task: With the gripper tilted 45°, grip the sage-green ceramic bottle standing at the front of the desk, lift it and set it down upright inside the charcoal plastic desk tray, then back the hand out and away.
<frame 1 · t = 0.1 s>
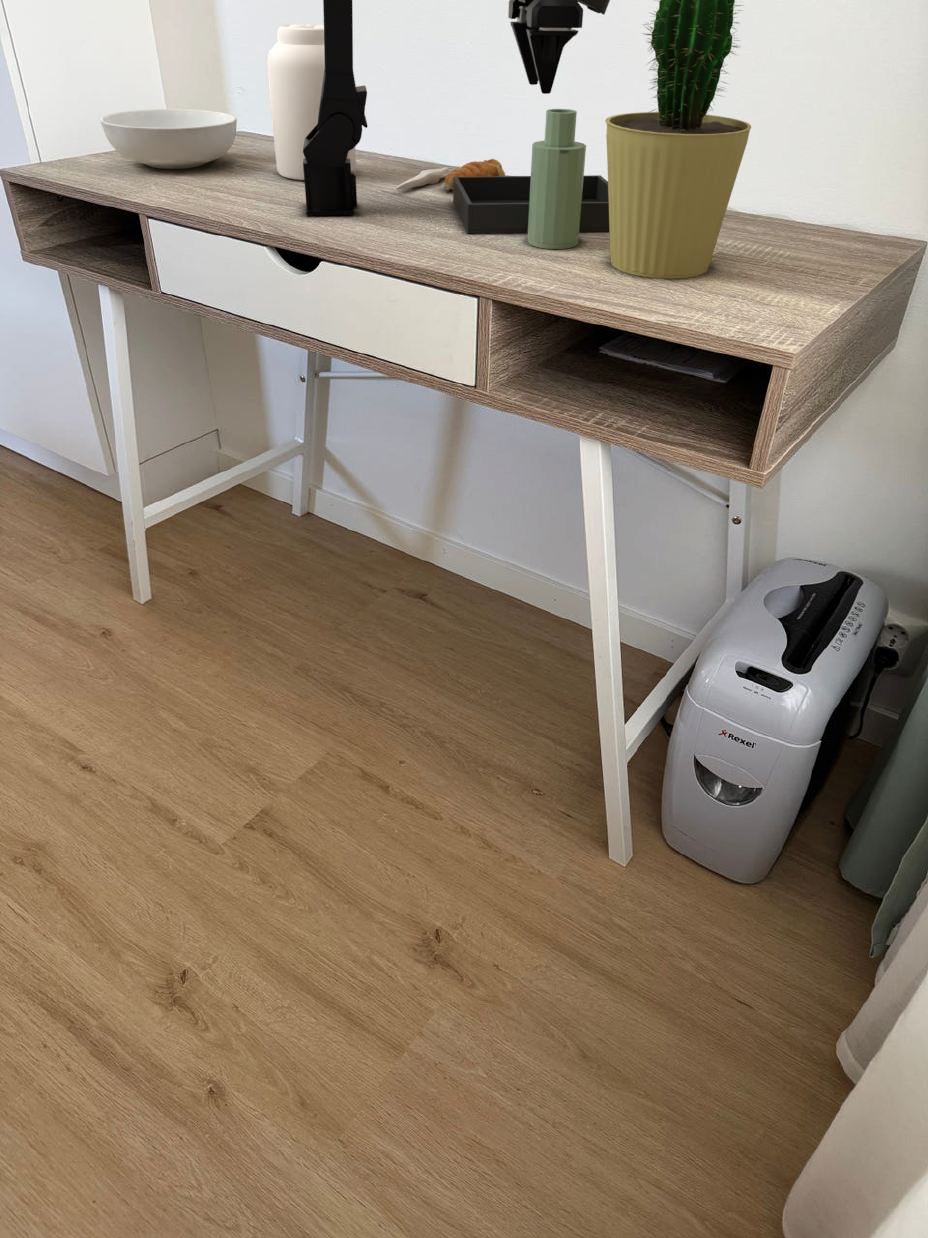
hand: (539, 88, 121), 15 cm above the table, tool pointing down, fingers open, 9 cm apart
cream vase: (317, 175, 147), on the table
parsnip: (422, 187, 142), on the table
bottle: (552, 242, 115), on the table
potted cactus: (658, 266, 108), on the table
tray: (537, 216, 126), on the table
serving bowl: (176, 165, 152), on the table
pastry: (476, 190, 140), on the table
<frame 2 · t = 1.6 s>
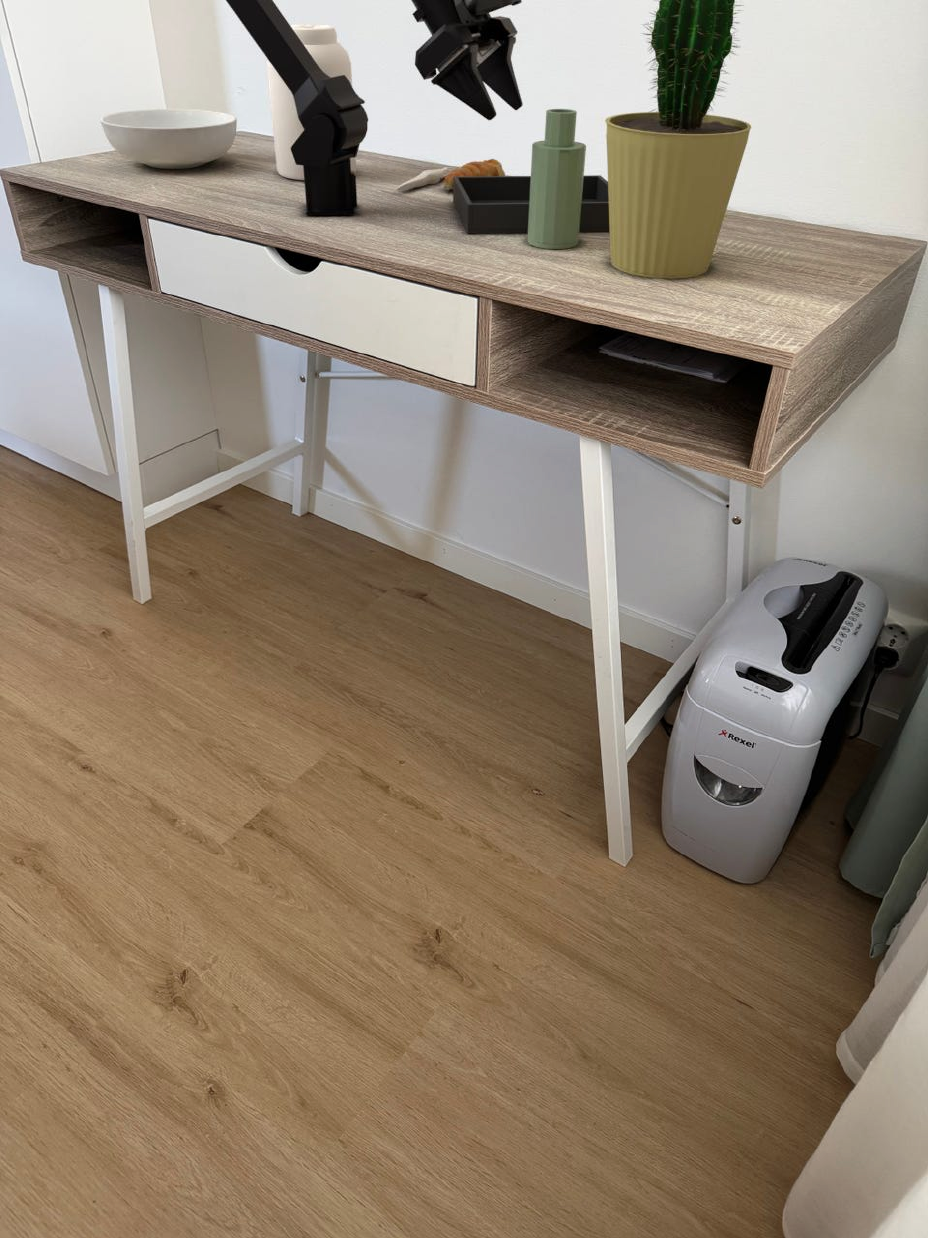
hand: (506, 112, 112), 13 cm above the table, tool tilted 40°, fingers open, 9 cm apart
nothing on the table moved.
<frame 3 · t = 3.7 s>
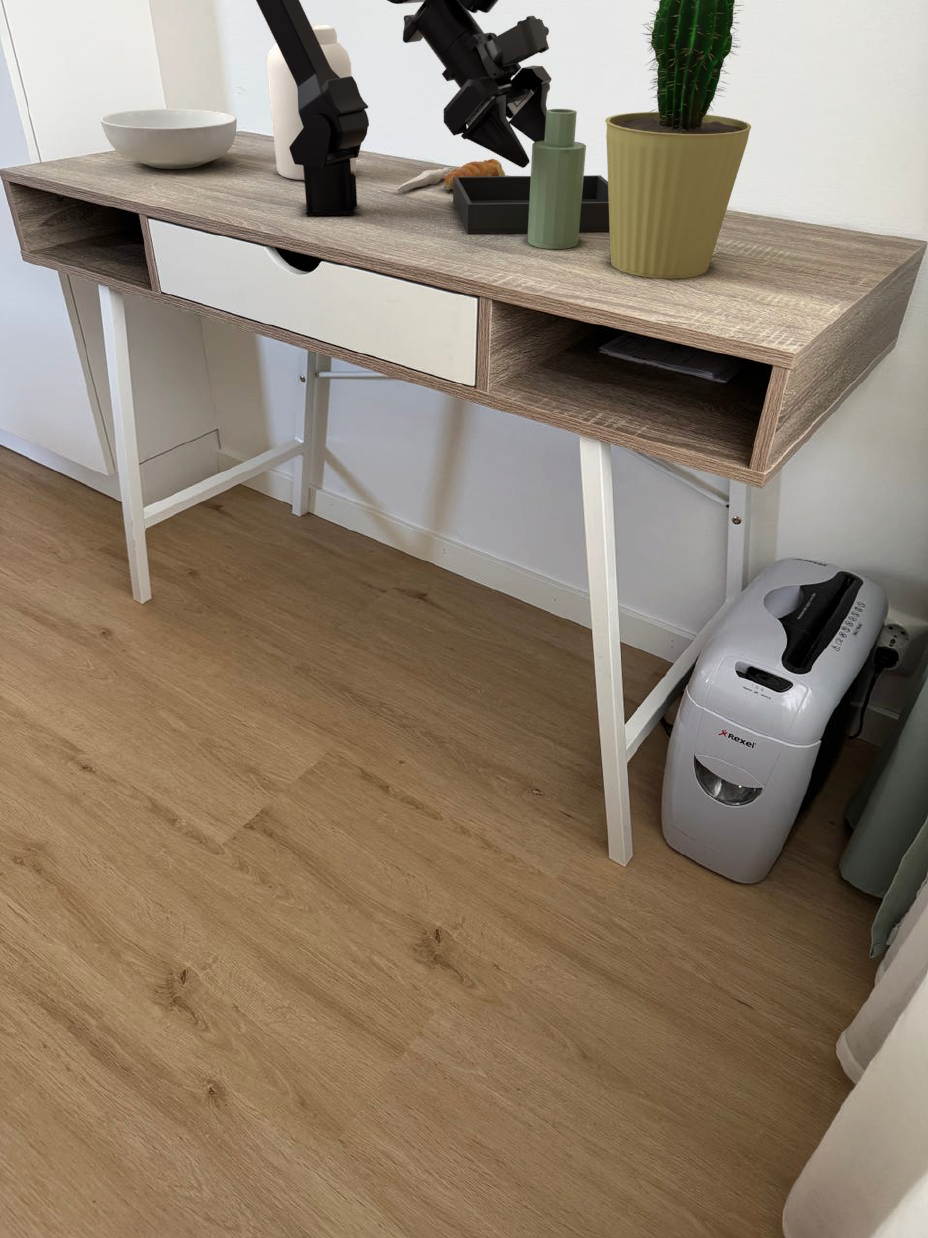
hand: (542, 158, 110), 9 cm above the table, tool tilted 45°, fingers open, 9 cm apart
nothing on the table moved.
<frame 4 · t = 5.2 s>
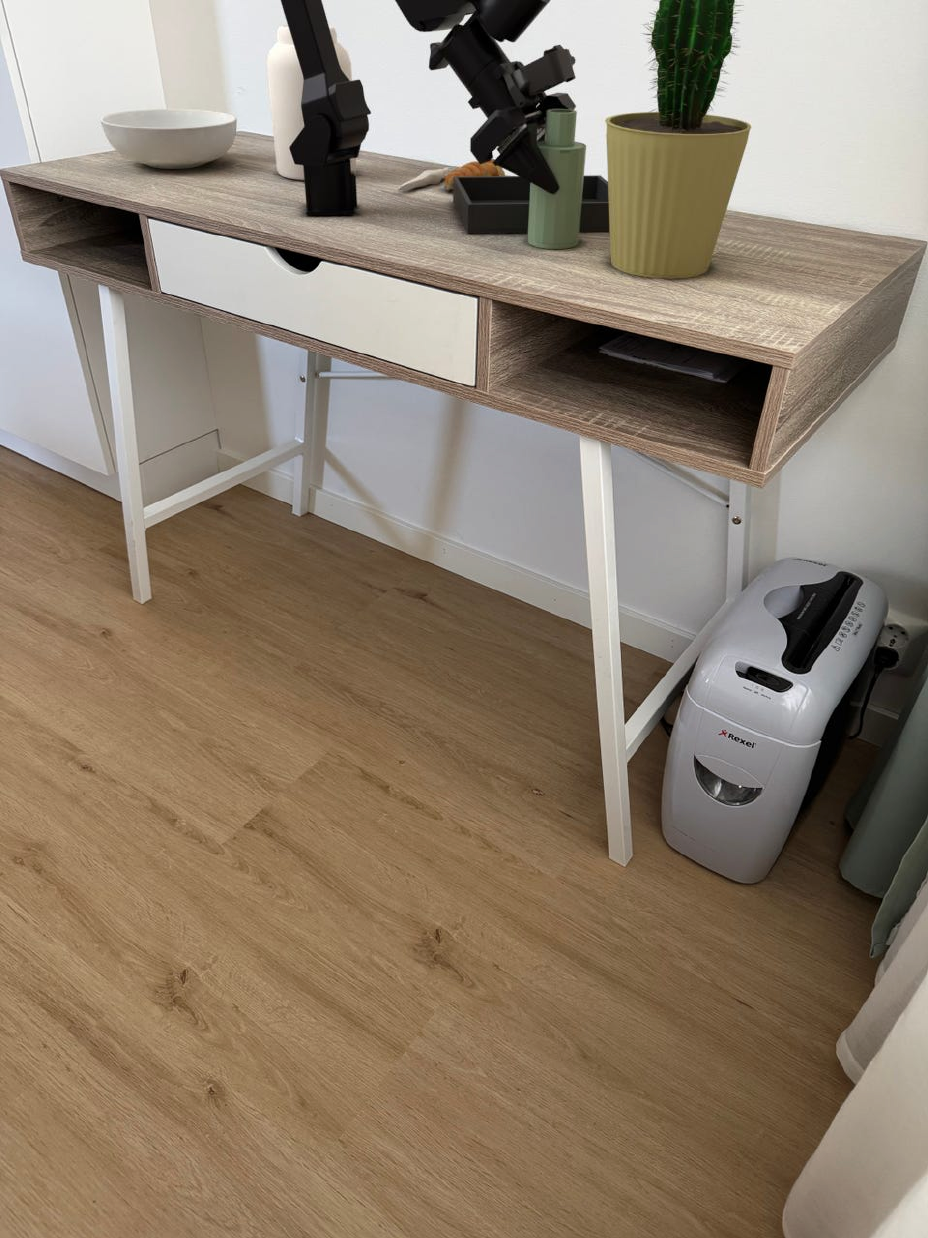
hand: (567, 186, 111), 7 cm above the table, tool tilted 45°, fingers closed on bottle, 6 cm apart
bottle: (552, 242, 115), on the table, touching gripper
everything else where it was.
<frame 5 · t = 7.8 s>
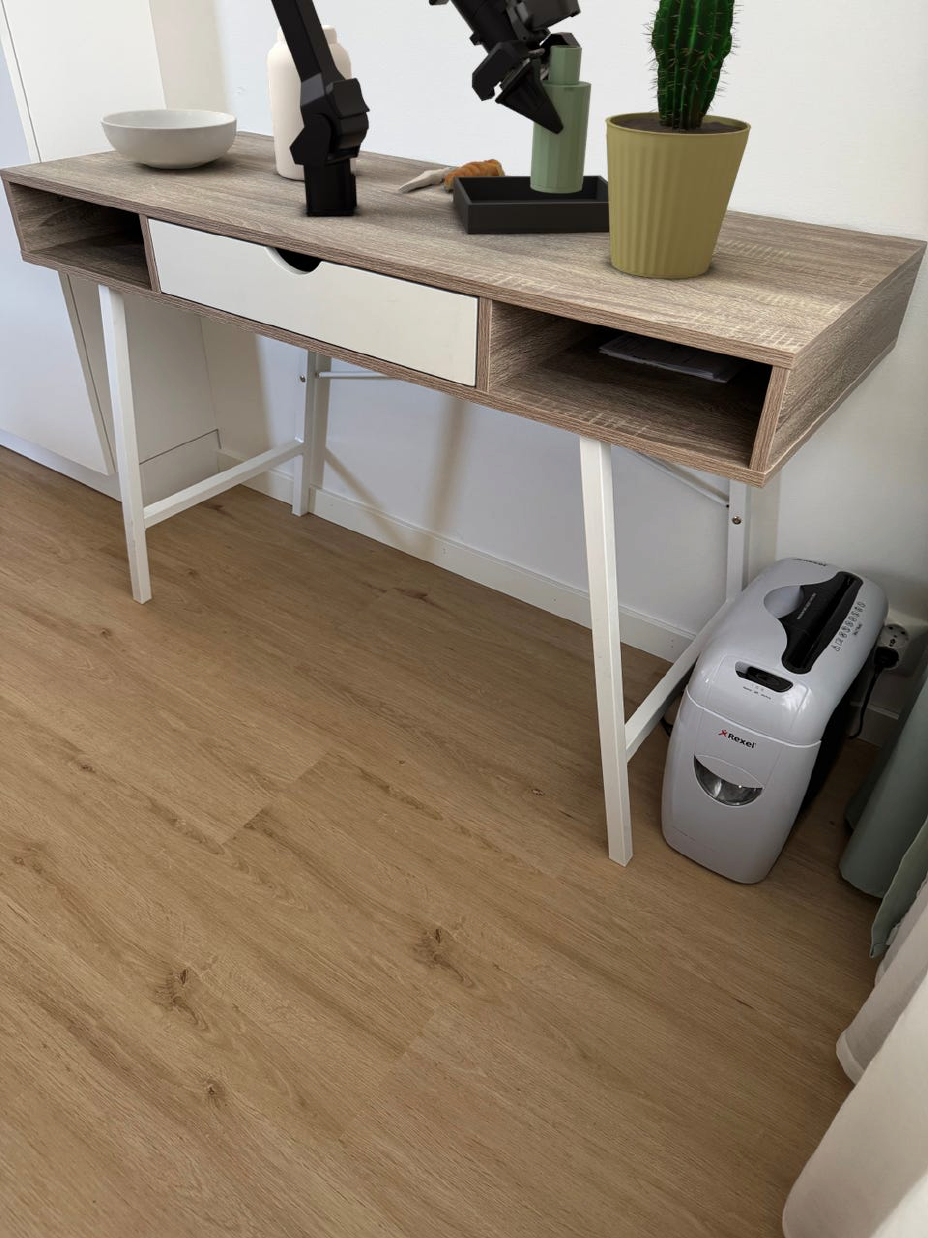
hand: (571, 127, 107), 13 cm above the table, tool tilted 45°, fingers closed on bottle, 6 cm apart
bottle: (555, 187, 112), point 6 cm above the table, touching gripper
everything else where it was.
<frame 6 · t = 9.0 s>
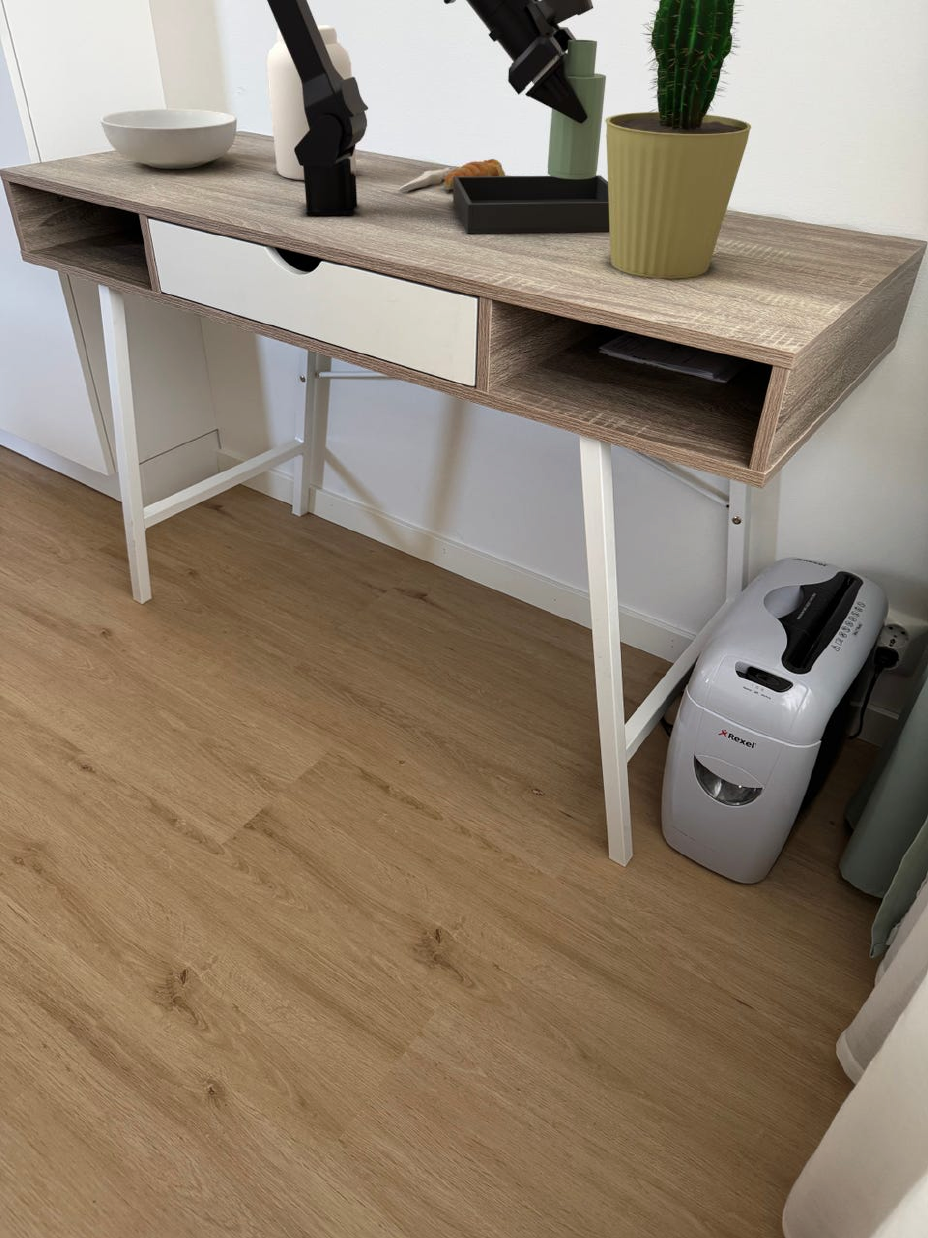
hand: (587, 116, 114), 13 cm above the table, tool tilted 45°, fingers closed on bottle, 6 cm apart
bottle: (571, 174, 118), point 6 cm above the table, touching gripper
everything else where it was.
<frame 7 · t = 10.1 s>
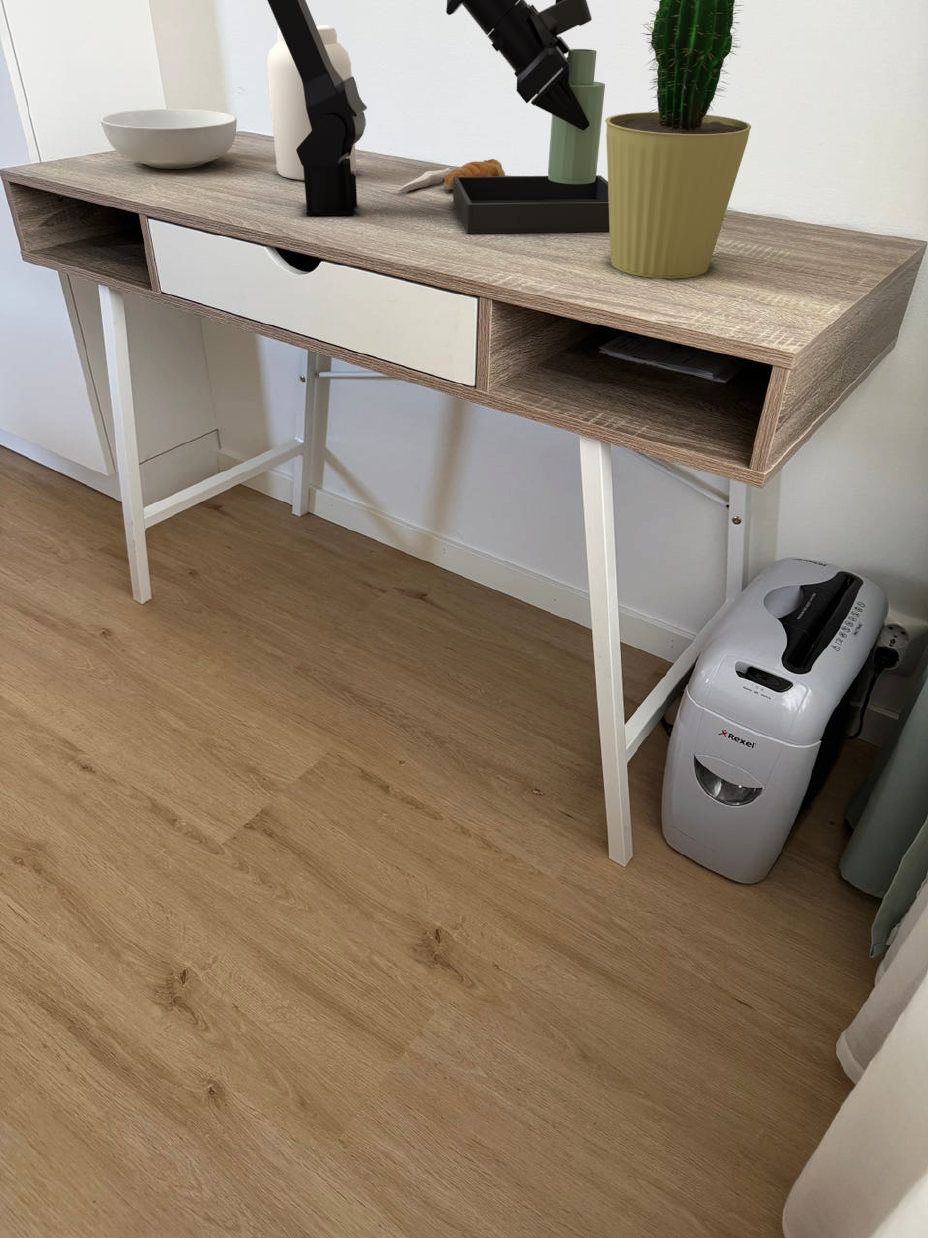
hand: (587, 123, 117), 12 cm above the table, tool tilted 45°, fingers closed on bottle, 6 cm apart
bottle: (571, 179, 121), point 5 cm above the table, touching gripper
everything else where it was.
when the fingers open (7 cm above the table, at t = 12.0 s): bottle stays where it is, resting on tray.
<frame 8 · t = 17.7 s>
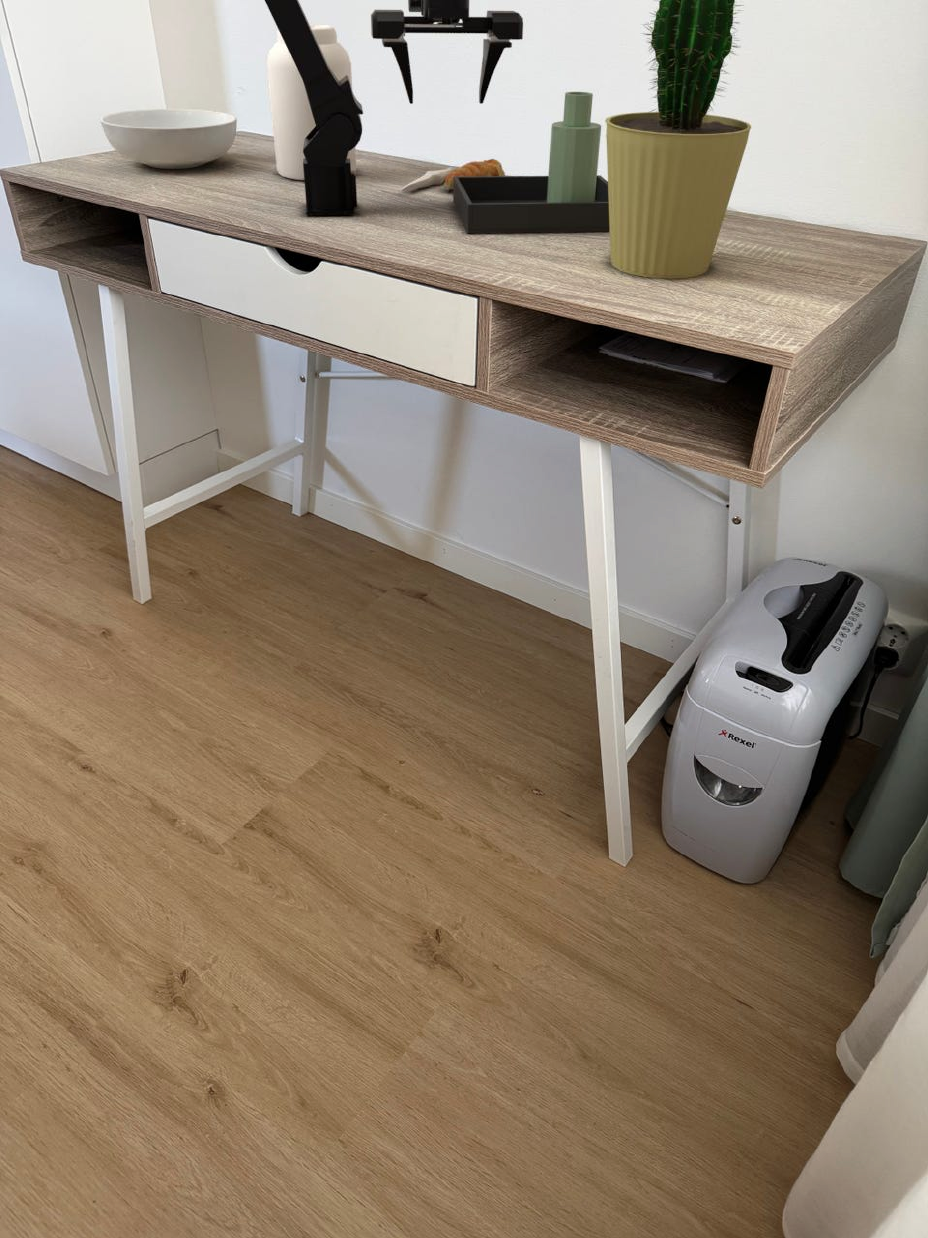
hand: (446, 102, 121), 13 cm above the table, tool pointing down, fingers open, 9 cm apart
bottle: (569, 216, 124), resting on tray
everything else where it was.
at the end: bottle inside the target area in the tray (4.6 cm from its centre), point 0.5 cm above the tray's base; bottle tilted 0°; the gripper is holding nothing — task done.
